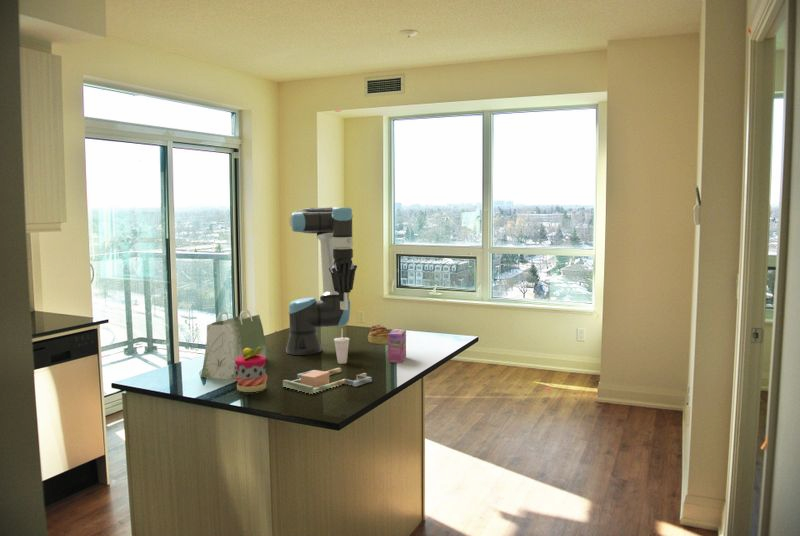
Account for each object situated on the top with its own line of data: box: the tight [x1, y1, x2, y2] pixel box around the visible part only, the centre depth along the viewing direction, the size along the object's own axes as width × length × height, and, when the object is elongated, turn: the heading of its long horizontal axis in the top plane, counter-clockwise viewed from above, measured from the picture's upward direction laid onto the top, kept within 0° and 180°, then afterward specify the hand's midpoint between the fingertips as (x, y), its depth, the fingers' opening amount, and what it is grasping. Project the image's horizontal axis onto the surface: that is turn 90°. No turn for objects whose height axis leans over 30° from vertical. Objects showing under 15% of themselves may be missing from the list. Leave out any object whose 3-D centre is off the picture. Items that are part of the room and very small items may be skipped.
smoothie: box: [333, 328, 350, 365], centre depth 248 cm, size 6×6×14 cm
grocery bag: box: [200, 309, 268, 379], centre depth 241 cm, size 32×14×23 cm, turn 170°
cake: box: [234, 347, 268, 393], centre depth 211 cm, size 10×10×15 cm
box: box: [387, 328, 407, 364], centre depth 251 cm, size 10×6×12 cm, turn 168°
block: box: [301, 369, 330, 388], centre depth 215 cm, size 6×8×4 cm
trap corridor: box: [282, 367, 373, 395], centre depth 219 cm, size 27×25×2 cm
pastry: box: [367, 323, 392, 345], centre depth 289 cm, size 13×15×8 cm
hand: (343, 309), depth 235 cm, fingers closed
